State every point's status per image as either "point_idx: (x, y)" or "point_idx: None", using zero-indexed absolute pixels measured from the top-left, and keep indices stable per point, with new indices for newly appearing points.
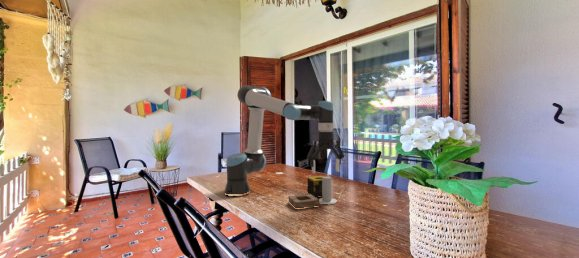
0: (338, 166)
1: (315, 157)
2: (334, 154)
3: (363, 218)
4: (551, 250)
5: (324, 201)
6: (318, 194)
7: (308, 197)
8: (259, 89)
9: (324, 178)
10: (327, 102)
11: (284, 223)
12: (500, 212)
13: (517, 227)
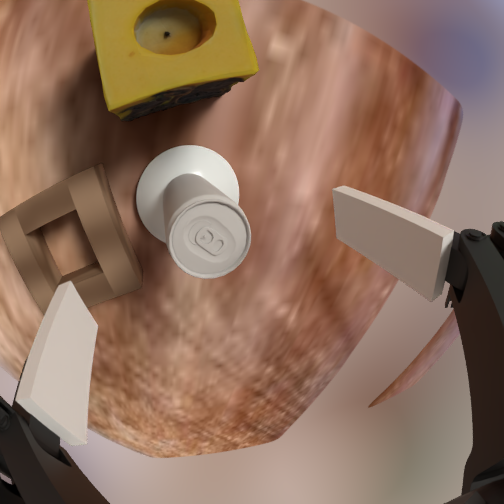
0: (374, 259)
1: (91, 484)
2: (486, 284)
3: (274, 360)
4: (406, 387)
5: None
6: (152, 111)
7: (84, 226)
8: None
9: (184, 271)
10: None
11: None
12: None
13: (439, 340)
